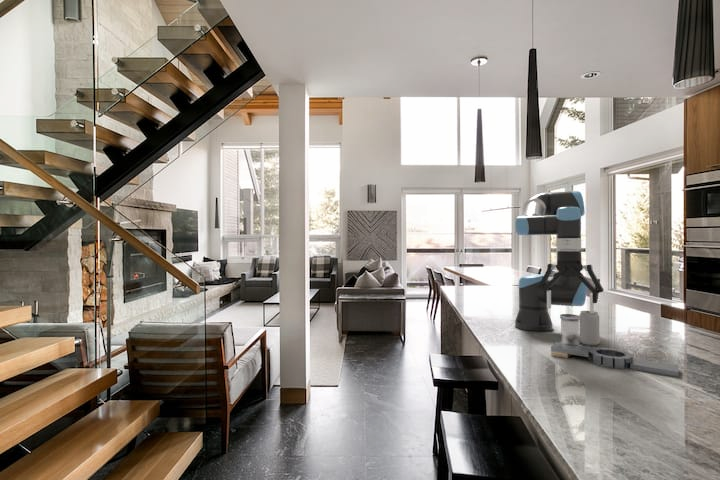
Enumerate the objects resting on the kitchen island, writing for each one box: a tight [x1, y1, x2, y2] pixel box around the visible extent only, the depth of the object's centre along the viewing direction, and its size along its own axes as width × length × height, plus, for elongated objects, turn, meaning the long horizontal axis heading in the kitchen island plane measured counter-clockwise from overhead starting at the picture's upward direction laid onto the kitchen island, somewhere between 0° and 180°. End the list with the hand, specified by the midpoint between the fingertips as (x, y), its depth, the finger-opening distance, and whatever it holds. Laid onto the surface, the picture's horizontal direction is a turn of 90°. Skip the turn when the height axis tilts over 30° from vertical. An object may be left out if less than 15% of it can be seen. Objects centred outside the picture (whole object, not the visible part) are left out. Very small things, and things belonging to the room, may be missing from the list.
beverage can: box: [578, 310, 601, 346], centre depth 142 cm, size 6×6×12 cm
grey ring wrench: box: [550, 341, 679, 378], centre depth 121 cm, size 33×12×3 cm, turn 50°
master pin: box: [559, 313, 580, 346], centre depth 135 cm, size 6×6×12 cm
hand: (569, 310), depth 135 cm, fingers open, 13 cm apart
